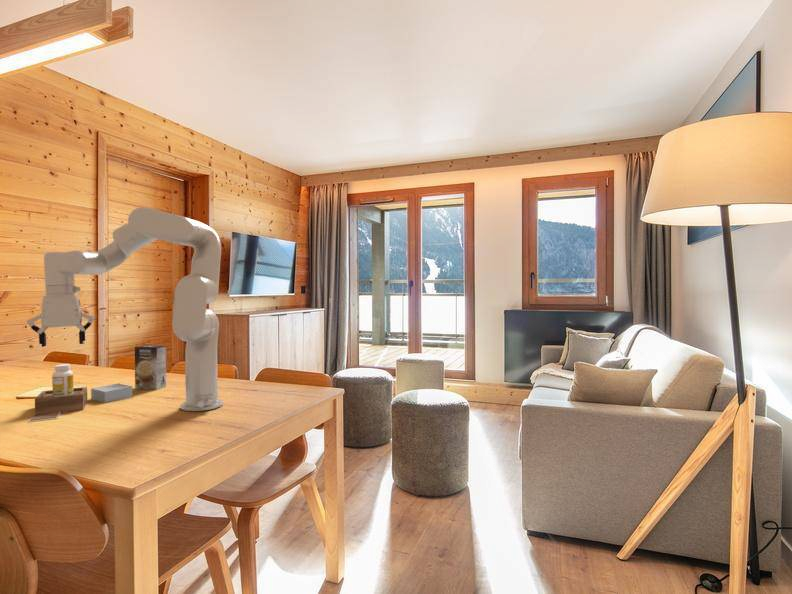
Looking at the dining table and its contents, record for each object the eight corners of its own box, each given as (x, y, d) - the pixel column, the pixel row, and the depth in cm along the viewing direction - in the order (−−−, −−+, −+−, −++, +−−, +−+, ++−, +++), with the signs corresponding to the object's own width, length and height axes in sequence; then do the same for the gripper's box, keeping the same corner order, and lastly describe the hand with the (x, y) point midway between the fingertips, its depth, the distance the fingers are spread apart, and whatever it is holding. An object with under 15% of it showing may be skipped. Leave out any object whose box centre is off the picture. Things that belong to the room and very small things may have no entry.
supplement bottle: (70, 392, 148) (70, 362, 147) (75, 395, 144) (75, 364, 144) (50, 395, 144) (49, 365, 143) (55, 398, 140) (54, 367, 140)
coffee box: (133, 389, 169) (133, 346, 169) (145, 385, 176) (144, 344, 175) (157, 389, 168) (156, 347, 168) (167, 386, 175) (166, 344, 174)
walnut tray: (83, 409, 142) (83, 394, 142) (35, 415, 136) (34, 399, 136) (87, 401, 152) (87, 386, 152) (42, 405, 146) (42, 391, 146)
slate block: (132, 397, 158) (132, 386, 158) (105, 403, 150) (104, 391, 150) (118, 394, 163) (118, 383, 163) (91, 400, 155) (91, 388, 155)
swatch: (57, 418, 133) (57, 416, 133) (28, 422, 129) (27, 420, 129) (61, 412, 139) (61, 411, 139) (33, 415, 135) (33, 414, 135)
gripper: (94, 290, 150) (96, 341, 151) (28, 291, 142) (31, 346, 143) (92, 290, 144) (94, 343, 144) (22, 292, 135) (25, 348, 136)
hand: (63, 344), depth 143 cm, fingers open, 9 cm apart
